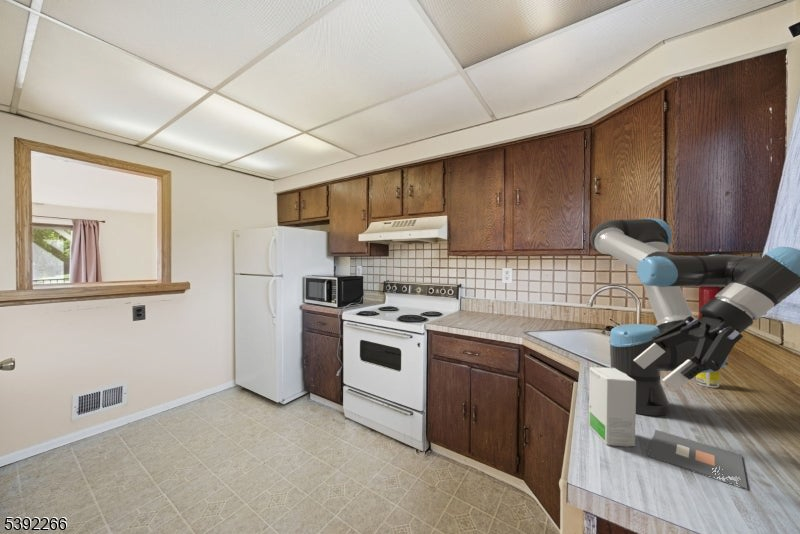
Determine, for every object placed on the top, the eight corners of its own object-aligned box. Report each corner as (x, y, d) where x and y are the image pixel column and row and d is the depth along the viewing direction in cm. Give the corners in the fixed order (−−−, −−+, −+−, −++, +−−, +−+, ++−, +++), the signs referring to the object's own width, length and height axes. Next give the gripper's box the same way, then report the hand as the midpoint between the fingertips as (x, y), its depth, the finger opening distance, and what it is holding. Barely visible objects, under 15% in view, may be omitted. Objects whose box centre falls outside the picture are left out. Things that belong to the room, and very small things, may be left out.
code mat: (647, 455, 64) (647, 454, 64) (655, 430, 73) (655, 429, 73) (747, 490, 53) (747, 488, 53) (741, 456, 63) (741, 454, 63)
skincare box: (588, 427, 75) (587, 366, 76) (616, 428, 75) (614, 367, 75) (607, 446, 67) (605, 378, 67) (638, 448, 66) (637, 379, 67)
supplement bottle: (720, 385, 101) (719, 355, 101) (718, 389, 97) (718, 358, 97) (697, 380, 105) (696, 352, 105) (695, 384, 102) (694, 355, 102)
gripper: (810, 334, 51) (703, 412, 55) (709, 312, 74) (641, 368, 79) (767, 303, 52) (667, 381, 57) (682, 292, 76) (616, 347, 80)
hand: (652, 374), depth 68 cm, fingers open, 13 cm apart
